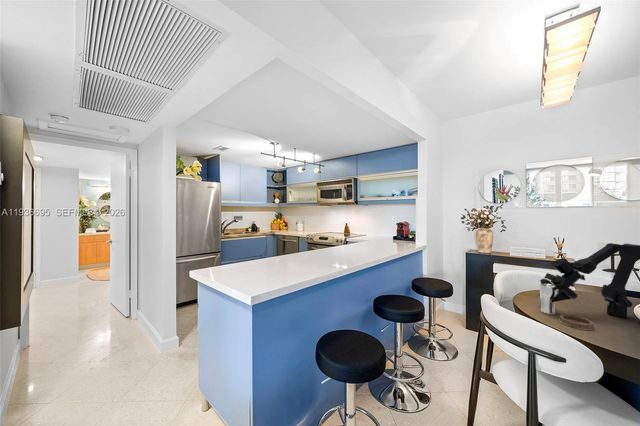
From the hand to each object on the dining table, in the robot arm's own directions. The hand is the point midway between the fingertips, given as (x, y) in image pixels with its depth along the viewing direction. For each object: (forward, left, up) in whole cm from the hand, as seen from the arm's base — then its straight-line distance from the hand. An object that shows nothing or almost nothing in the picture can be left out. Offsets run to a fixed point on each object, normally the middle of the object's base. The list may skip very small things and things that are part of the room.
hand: (545, 298), depth 137 cm
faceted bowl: (-12, +8, -8) cm, 16 cm away
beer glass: (-1, -1, -8) cm, 8 cm away
